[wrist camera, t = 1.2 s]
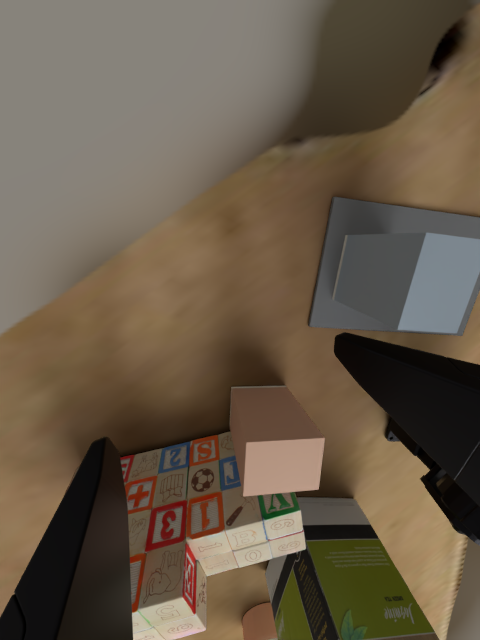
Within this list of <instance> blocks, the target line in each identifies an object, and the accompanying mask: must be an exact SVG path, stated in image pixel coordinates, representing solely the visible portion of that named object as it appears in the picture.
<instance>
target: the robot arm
mask: <svg viewBox="0 0 480 640" xmlns="http://www.w3.org/2000/svg"><path fill="white" fill-rule="evenodd" d="M334 353H335V355H336V357H337V358H338V359H339V361H340V362H341V363H342V364H343V366H344V367H345V368H346V369H347V370H348V372H349V373H350V374H351V375H352V377H353V378H354V379H355V380H356V381H357V383H358V384H359V385H360V386H361V387H362V388H363V389H364V390H365V391H366V392H367V393H368V394H369V395H370V396H371V397H372V398H373V399H374V400H375V401H376V402H377V403H378V404H379V405H380V406H381V407H382V408H383V409H384V410H385V411H386V412H387V413H388V414H389V415H390V416H391V417H392V418H391V421H390V424H389V427H388V430H387V433H386V436H385V437H386V439H387V440H388V441H401V442H402V444H403V445H404V446H405V447H406V448H407V449H408V450H409V451H410V452H411V453H412V454H413V455H414V456H417V457H418V458H419V459H420V460H421V461H422V462H423V463H424V464H425V465H426V466H427V467H428V468H429V469H430V471H429V472H428V473H427V474H426V475H425V476H424V475H423V476H422V477H421V478H420V479H421V481H422V482H423V484H424V485H425V488H426V489H427V491H428V492H429V493H430V495H431V496H432V497H433V499H434V500H435V502H436V503H437V504H438V506H439V507H440V508H441V510H442V511H443V513H444V514H445V515H446V517H447V518H448V519H449V521H450V523H451V525H452V527H453V528H454V529H455V530H456V531H457V532H458V533H460V534H464V535H466V536H468V537H469V538H470V539H471V540H473V541H474V542H475V543H476V544H478V545H480V365H478V364H474V363H469V362H465V361H461V360H457V359H452V358H448V357H447V358H446V357H444V356H440V355H436V354H432V353H428V352H424V351H420V350H415V349H411V348H407V347H403V346H399V345H395V344H391V343H387V342H383V341H379V340H375V339H370V338H366V337H362V336H358V335H354V334H350V333H346V332H344V333H341V334H339V335H337V336H336V337H335V343H334ZM14 593H15V594H14V595H12V596H11V598H10V600H9V602H8V604H7V606H6V608H5V609H4V611H3V613H2V615H1V617H0V640H133V622H132V598H131V574H130V549H129V525H128V506H127V498H126V491H125V485H124V479H123V472H122V466H121V460H120V455H119V452H118V450H117V448H116V447H115V446H114V444H113V443H112V441H111V440H110V439H109V438H108V437H103V438H100V439H98V440H96V441H94V442H93V443H92V444H91V446H90V448H89V450H88V452H87V453H86V455H85V457H84V459H83V461H82V463H81V465H80V467H79V469H78V471H77V472H76V474H75V476H74V478H73V480H72V482H71V484H70V486H69V488H68V490H67V492H66V493H65V495H64V497H63V499H62V501H61V503H60V505H59V507H58V509H57V511H56V513H55V514H54V516H53V518H52V520H51V522H50V524H49V526H48V528H47V530H46V532H45V533H44V535H43V537H42V539H41V541H40V543H39V545H38V547H37V549H36V551H35V553H34V554H33V556H32V558H31V560H30V562H29V564H28V566H27V568H26V570H25V572H24V574H23V575H22V577H21V579H20V581H19V583H18V585H17V587H16V589H15V591H14Z"/></svg>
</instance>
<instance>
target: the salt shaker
mask: <svg viewBox="0 0 480 640" xmlns="http://www.w3.org/2000/svg"><path fill="white" fill-rule="evenodd" d="M242 624H243V635H244V640H278V637H277V632H276V627H275V622H274V616H273V610H272V606H271V603H263V604H260V605H257V606H255V607H253V608H251V609H250V610H249V611H247V612H246V614H245V615H244V616H243V620H242Z"/></svg>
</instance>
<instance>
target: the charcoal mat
mask: <svg viewBox="0 0 480 640" xmlns="http://www.w3.org/2000/svg"><path fill="white" fill-rule="evenodd" d="M395 233H434V234H442V235H450V236H458V237H466V238H473V239H480V218H479V217H472V216H465V215H458V214H451V213H444V212H437V211H430V210H424V209H417V208H410V207H403V206H396V205H389V204H382V203H375V202H368V201H361V200H354V199H347V198H340V197H333V198H332V203H331V208H330V213H329V219H328V224H327V229H326V234H325V240H324V245H323V250H322V255H321V261H320V266H319V271H318V276H317V282H316V287H315V292H314V297H313V303H312V308H311V313H310V318H309V324H308V326H309V327H322V328H339V329H356V330H373V331H390V332H407V333H424V334H441V335H458V336H462V335H463V332H464V329H465V327H466V324H467V321H468V319H469V316H470V314H471V311H472V308H473V306H474V303H475V300H476V298H477V295H478V293H479V290H480V273H479V275H478V278H477V281H476V283H475V286H474V289H473V291H472V294H471V297H470V299H469V302H468V305H467V307H466V310H465V313H464V315H463V318H462V321H461V324H460V326H459V329H458V332H457V333H442V332H425V331H408V330H397V329H395V328H392V327H390V326H388V325H386V324H384V323H382V322H380V321H378V320H375V319H373V318H371V317H369V316H367V315H365V314H363V313H361V312H359V311H356V310H354V309H352V308H350V307H348V306H346V305H344V304H342V303H339V302H337V301H335V300H333V299H332V297H333V292H334V287H335V283H336V278H337V273H338V268H339V264H340V259H341V254H342V250H343V245H344V240H345V235H364V234H395Z"/></svg>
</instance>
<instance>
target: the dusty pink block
mask: <svg viewBox="0 0 480 640" xmlns="http://www.w3.org/2000/svg"><path fill="white" fill-rule="evenodd" d="M230 430H231V435H232V441H233V446H234V451H235V456H236V461H237V467H238V472H239V477H240V482H241V488H242V493H243V497H244V496H255V495H266V494H276V493H287V492H298V491H309V490H319V483H320V475H321V467H322V458H323V450H324V442H325V437H324V436H323V435H322V433H321V432H320V431H319V429H318V428H317V427H316V425H315V424H314V423H313V421H312V420H311V419H310V417H309V416H308V415H307V413H306V412H305V411H304V409H303V408H302V407H301V405H300V404H299V403H298V401H297V400H296V399H295V397H294V396H293V395H292V393H291V392H290V391H289V389H288V388H287V387H286V386H244V387H231V405H230Z"/></svg>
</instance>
